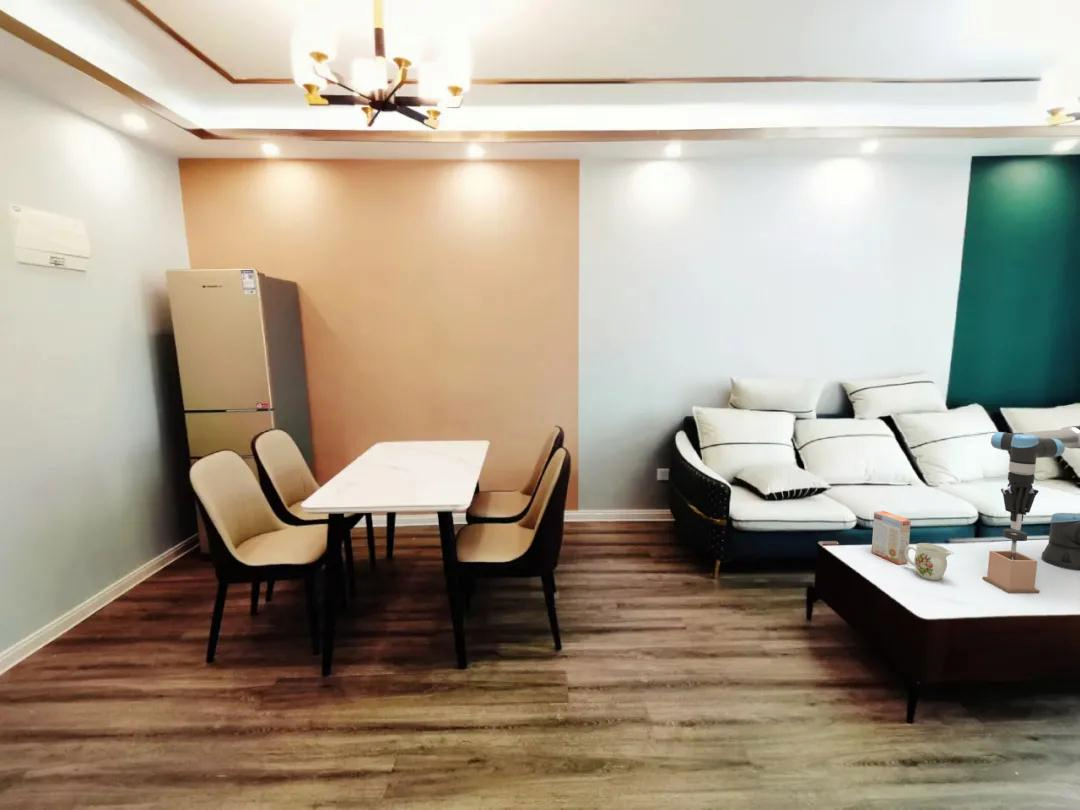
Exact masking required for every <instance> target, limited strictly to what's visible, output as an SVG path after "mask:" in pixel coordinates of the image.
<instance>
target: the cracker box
mask: <svg viewBox="0 0 1080 810" xmlns="http://www.w3.org/2000/svg"><path fill="white" fill-rule="evenodd" d="M911 524H912V523H911V519H908V518H905V517H902V516H899V515H896V514H894V513H890V512H888V511H885V510H877V511H874V513H873V527H872V537H871V538H872V539H871V540H872V543H871V553H872V554H873V553H874V555H876V556H878V557H880V558H883V559H885V560H887V561H889V562H892V563H893V564H896V565H904V564H908V563H909V562H908V561H907V559H906V558H905V549H906V548H907V547H908V546H910V535H911V534H910V533H911Z"/></svg>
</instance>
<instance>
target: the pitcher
mask: <svg viewBox="0 0 1080 810" xmlns="http://www.w3.org/2000/svg"><path fill="white" fill-rule="evenodd" d="M910 550H913V551H914V552H915V553H914V557H913V558H914V559H913V560H914V561H912V560H911V558H910V557H909V551H910ZM954 554H955V552H954V551H951V550H948V548H946V547H944V546H941V545H938V544H933V543H929V542H919V543H917V544H916V547H915V546H914V545H909V546H908V547H907V548H906V549H905V558H906V559H907V561H908V563H909V564H910V565H911V566H913V567H914V568H915V570H916V573H918V575H919V577H921V578H923V579H926V580H929V581H939V580H940V579H942V577H943V576H944V575H945V573H946V570H947V567H948V561H947V557H948V556H949V555H954Z"/></svg>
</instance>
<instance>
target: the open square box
mask: <svg viewBox="0 0 1080 810" xmlns="http://www.w3.org/2000/svg"><path fill="white" fill-rule="evenodd" d="M1010 556H1011V550H989V555H988V564H987V574H986V576H982V580H983V581H985V582H986V583H989V584H990V585H992V586H994V587H995V588H997V589H998V590H999V589H1000V590H1001V591H1003V592H1005V593H1007V594H1040V590H1039V589H1036V588H1035V586H1036V577H1037V569H1038V560H1036V559H1034V558H1031V557H1029V556H1027V555H1025V554H1022V553H1020V552H1018V551H1016V554H1015V560H1010Z"/></svg>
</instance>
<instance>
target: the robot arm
mask: <svg viewBox="0 0 1080 810" xmlns="http://www.w3.org/2000/svg"><path fill="white" fill-rule="evenodd" d="M990 445H992V447H993V448H994V449H997V450H1001V451H1008V452H1010V457H1009V464H1008V470H1009V471H1008V472H1007V480H1008V483H1007V487H1005V488H1001V489H1000V492H1001V493H1002V497H1003V502H1004V510H1005V511H1006V512H1009V513H1010V518H1009V520H1010V521H1011V522H1010V529H1015V530H1019V531H1022V530H1021V528H1022V522H1023V521H1024V516H1026V515H1027V514H1029V513H1030V512H1031V509H1032V506H1033V503H1034V501H1035V497H1036V496H1037V495H1038V494H1039V492H1040V491H1039V490H1038V489H1035V488H1033V484H1034V482H1035V473H1036V467H1037V466H1036V465H1037V459H1038V458H1039V459H1040V458H1042V459H1043V458H1049V459H1050V458H1057V457H1059V456H1061V455H1063V453H1064V452H1065V450H1066V449H1079V450H1080V425H1075V426H1074V425H1073V426H1065V427H1062V428H1060V429H1054V430H1039V431H1027V432H1026V431H1025V432H1013V433H1010V432H1006V431H1004V432H1002V431H997V432H995V433H994V434H993V435H991V438H990ZM1065 448H1066V449H1065ZM1049 523H1050V527H1049V536H1048V544H1047V545H1046V547H1045V548H1044V550H1043V551H1042V552H1041V560H1042V561H1044V562H1045V563H1047V564H1049V565H1053V566H1056V567H1059V568H1064V569H1068V570H1072V569H1073V570H1074V571H1080V514H1079V513H1073V512H1072V513H1071V512H1056V513H1053V514H1052V516H1051V519H1050V521H1049ZM1073 570H1072V571H1073Z"/></svg>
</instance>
